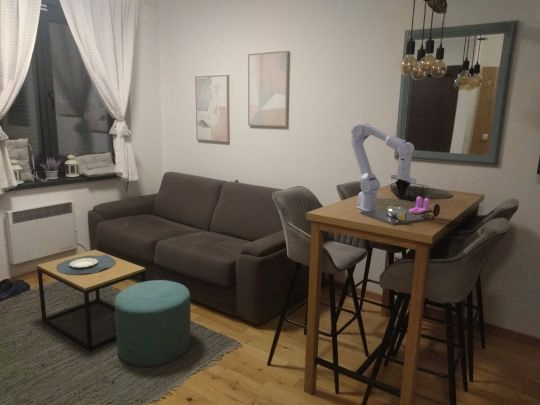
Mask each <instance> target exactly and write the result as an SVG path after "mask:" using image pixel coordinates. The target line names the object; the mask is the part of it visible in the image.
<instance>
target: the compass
mask: <svg viewBox="0 0 540 405" xmlns="http://www.w3.org/2000/svg"><path fill="white" fill-rule="evenodd" d="M440 211H441V206H440V204H439V203H436V204H434V207H433V215H432V214H428V213H427V214H426V213H422V214H420V217H422V218H425V220H434V219H435V218H436V217H438V216H439V215H440Z"/></svg>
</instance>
